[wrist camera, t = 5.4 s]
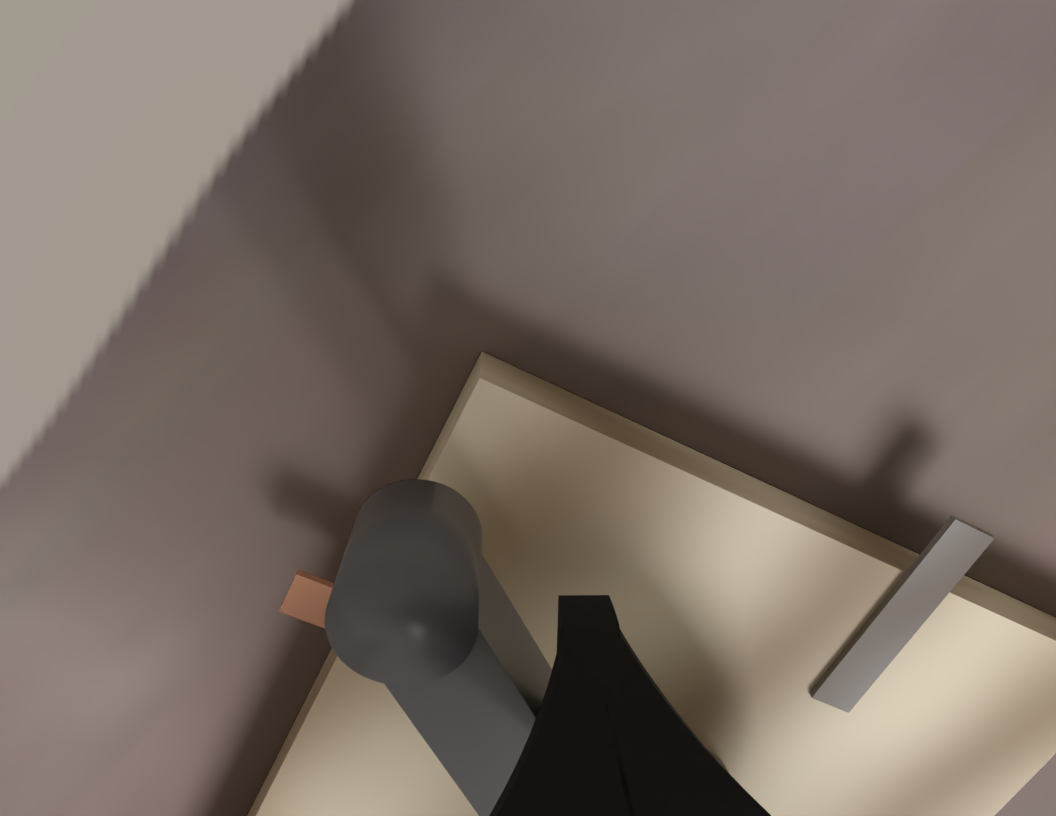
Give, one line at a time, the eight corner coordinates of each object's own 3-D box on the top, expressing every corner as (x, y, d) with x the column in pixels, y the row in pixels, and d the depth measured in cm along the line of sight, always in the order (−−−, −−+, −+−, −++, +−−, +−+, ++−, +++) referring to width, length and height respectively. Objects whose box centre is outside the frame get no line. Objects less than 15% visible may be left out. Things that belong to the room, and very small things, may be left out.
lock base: (1130, 584, 18) (1287, 712, 15) (728, 1014, 24) (769, 1183, 21) (444, 250, 15) (424, 307, 11) (168, 846, 21) (95, 1012, 17)
